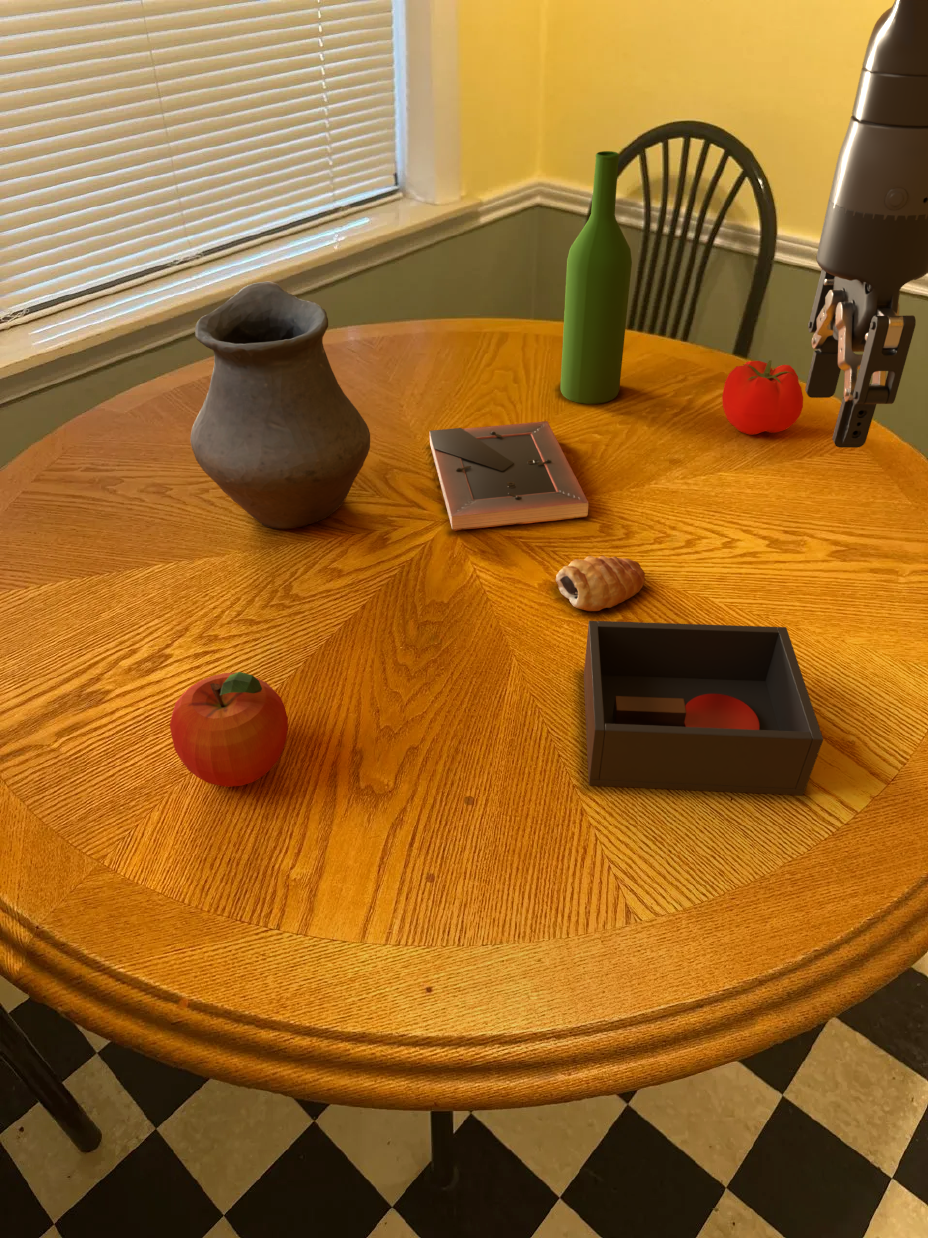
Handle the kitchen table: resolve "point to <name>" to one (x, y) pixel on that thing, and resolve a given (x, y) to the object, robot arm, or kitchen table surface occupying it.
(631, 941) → the kitchen table surface
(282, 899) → the kitchen table surface
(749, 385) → the tomato
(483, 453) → the picture frame
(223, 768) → the fruit
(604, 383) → the wine bottle
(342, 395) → the grey clay vase
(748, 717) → the paddle
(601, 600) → the pastry
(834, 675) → the kitchen table surface
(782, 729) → the bin
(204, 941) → the kitchen table surface
